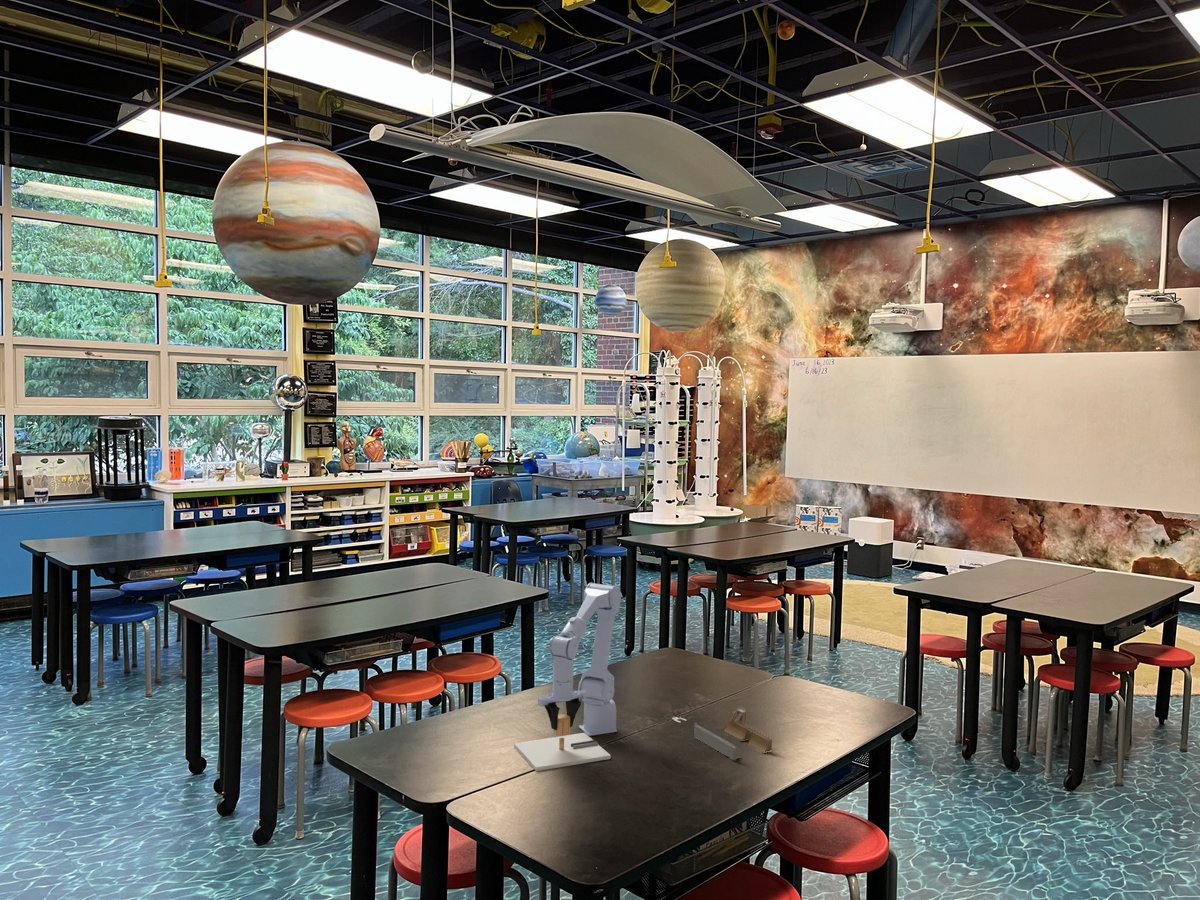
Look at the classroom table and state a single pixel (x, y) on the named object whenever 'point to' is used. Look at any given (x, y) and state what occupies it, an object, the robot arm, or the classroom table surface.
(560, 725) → the wire nut
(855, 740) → the classroom table surface
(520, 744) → the plate
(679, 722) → the paper
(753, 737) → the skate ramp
